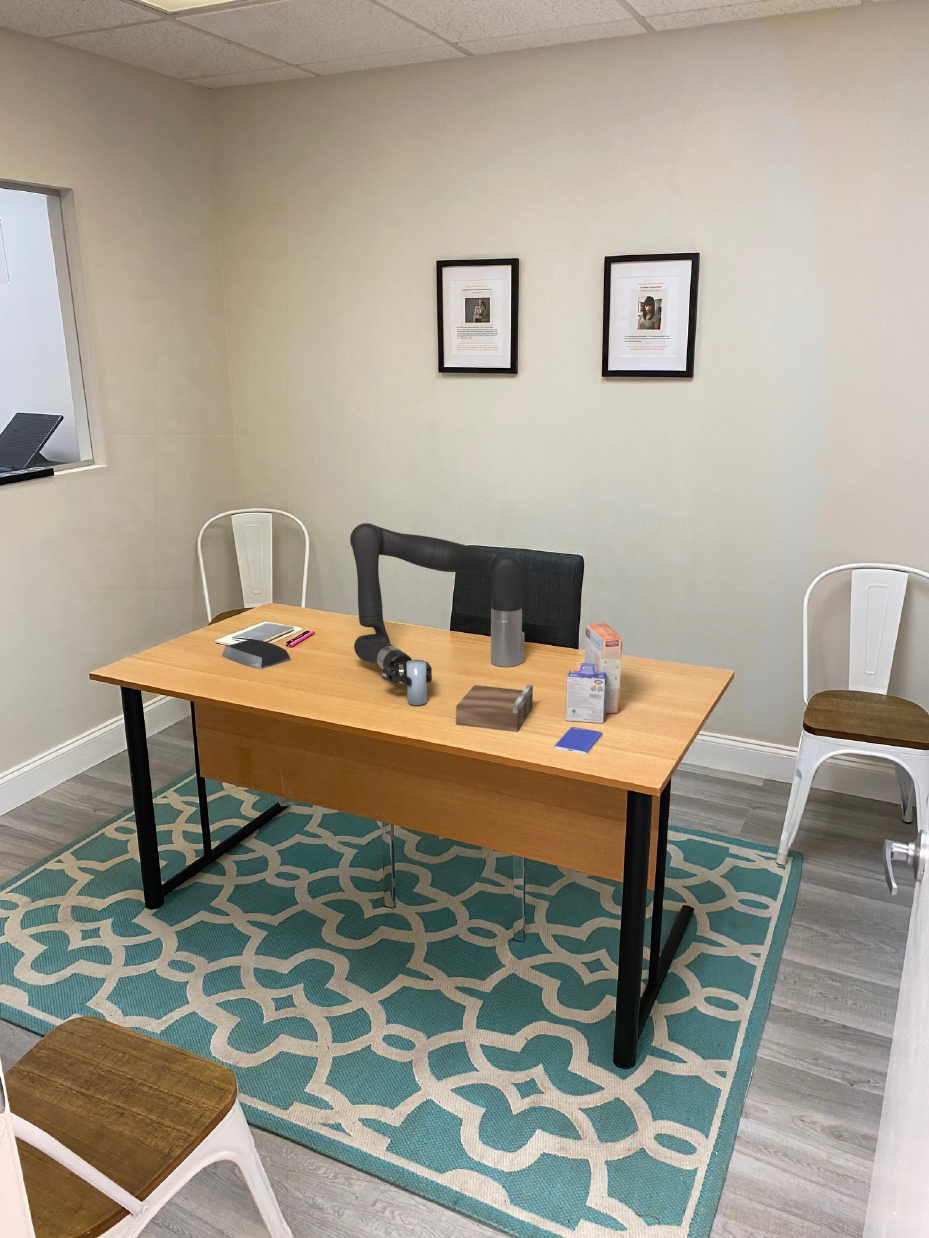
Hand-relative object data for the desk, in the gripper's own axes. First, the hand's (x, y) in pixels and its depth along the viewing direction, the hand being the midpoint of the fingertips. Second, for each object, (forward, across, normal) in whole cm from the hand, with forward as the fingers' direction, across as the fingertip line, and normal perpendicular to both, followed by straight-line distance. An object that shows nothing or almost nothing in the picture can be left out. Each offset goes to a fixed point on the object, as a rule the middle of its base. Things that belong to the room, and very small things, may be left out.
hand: (420, 680), depth 248 cm
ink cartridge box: (+28, +34, +8) cm, 44 cm away
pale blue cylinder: (-2, 0, +6) cm, 7 cm away
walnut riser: (+16, +14, +7) cm, 22 cm away
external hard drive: (-60, -28, +8) cm, 66 cm away
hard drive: (+39, +24, +8) cm, 47 cm away
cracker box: (+22, +43, +8) cm, 49 cm away
